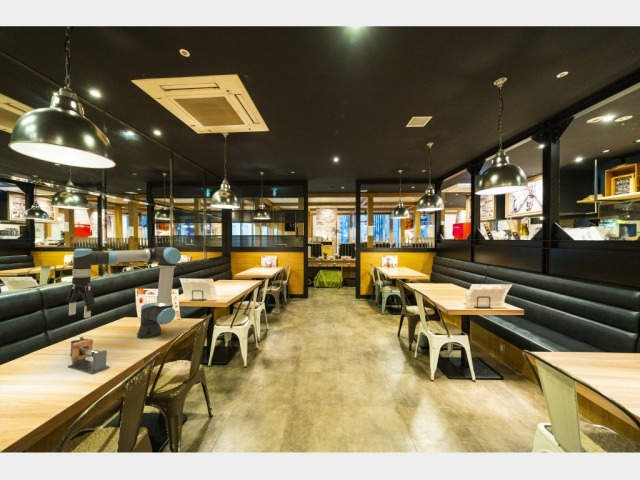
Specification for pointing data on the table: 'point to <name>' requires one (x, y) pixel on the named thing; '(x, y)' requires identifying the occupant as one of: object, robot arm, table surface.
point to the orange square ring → (77, 345)
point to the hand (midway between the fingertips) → (79, 315)
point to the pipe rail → (90, 366)
